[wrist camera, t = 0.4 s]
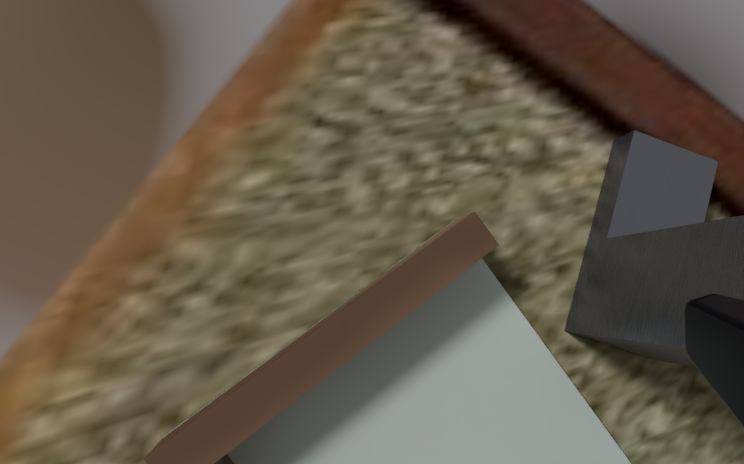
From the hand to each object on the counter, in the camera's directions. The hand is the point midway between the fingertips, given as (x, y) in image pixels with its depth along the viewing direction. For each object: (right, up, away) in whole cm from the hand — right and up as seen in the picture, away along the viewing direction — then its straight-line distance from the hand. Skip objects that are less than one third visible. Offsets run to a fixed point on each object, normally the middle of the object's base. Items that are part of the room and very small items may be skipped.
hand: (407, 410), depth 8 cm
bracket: (+11, +2, +16) cm, 20 cm away
